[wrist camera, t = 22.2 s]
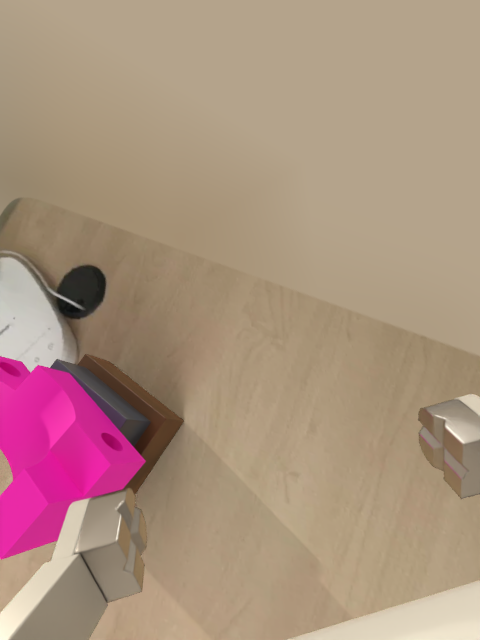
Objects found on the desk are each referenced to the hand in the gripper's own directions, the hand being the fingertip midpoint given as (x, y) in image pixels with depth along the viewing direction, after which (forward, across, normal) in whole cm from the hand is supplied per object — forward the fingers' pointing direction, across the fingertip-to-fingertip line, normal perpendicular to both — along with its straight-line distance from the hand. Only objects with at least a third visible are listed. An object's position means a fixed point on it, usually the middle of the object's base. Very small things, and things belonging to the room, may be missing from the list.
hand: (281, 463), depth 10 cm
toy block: (+19, +15, +9) cm, 26 cm away
